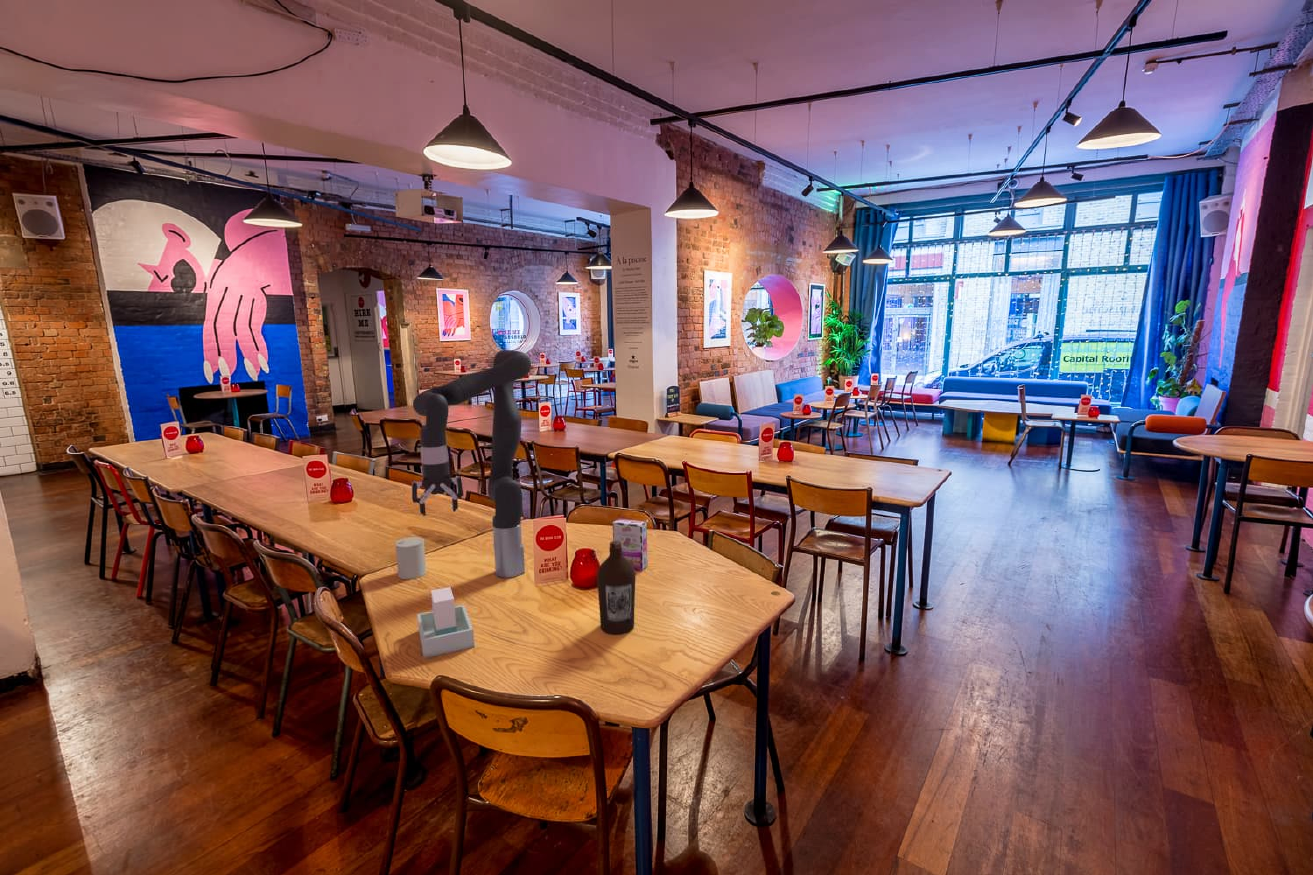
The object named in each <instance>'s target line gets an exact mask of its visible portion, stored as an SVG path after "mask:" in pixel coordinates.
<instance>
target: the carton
mask: <svg viewBox="0 0 1313 875" xmlns="http://www.w3.org/2000/svg"><path fill="white" fill-rule="evenodd" d="M430 594H431V607H432V611H433V623H434V631H435V636H439V635H444V634H448V633H453V632H457V627H456V617H455V606H456V605H455V597H454V595H453V592H452V588H451V586H448V587H443V588H437V589H432V590H430Z"/></svg>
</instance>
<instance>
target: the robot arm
mask: <svg viewBox="0 0 1313 875" xmlns="http://www.w3.org/2000/svg"><path fill="white" fill-rule="evenodd" d="M531 368H532V361H531V358H530V357H529V355H528V354H527V353H525V352H522V351H519V350H511V349H501V350H499V351H498V352H497V353H496V354H495V356H494V357H493V363H492V367H490V368H487V369H483V370H479V371H475V372H471V373H468V374H465V375H462V376H460V377H457V378H455V379H454V380H452V381H451V380H450V382H447V383H446V384H444V385H440V386H436V387H432V388H429V389H427V390H424V391H422V392H420V393H418V394H417V395H416V396H415V398H414V399H413V401H412V407H413V410H414V412H415V413H416V414H418V415H420V416H422V417H425V425H423V426H422V427H421V428H420V430H419V434H420V435H419V436H420V448H421V449H420V457H421V458H420V461H421V472H422V480H421V481H415V480H413V481H412V482H411V500H412V503H414V504H416V503H417V504H418V505H419V511H420V514H421V515H422V516H423V517H425V516H427V514H426V513H427V512H426V504H425V501H426V500H427V499H428V497H429V496H430V495H432V496H434V495H439V494H440V495H441V494H445V493H447V494H448V495H449V496H450V497H451V504H452V505H451V506H452V512H457V510H458V509H459V504H458V503H459V502H458V499H460V498H461V497H462V498H463V497H464V489H463V483H462V482H463V480H462V478H461V476H460V475H457V476H456V477H451V474H450V461H449V459H450V456H449V451H448V446H447V434H446V430H447V424H448V418H449V407H451V406H458V405H460V404H462V403H465V402H467V401H469V400H471V399H472V398H475V397H476V396H479V395H480V394H483V393H484V392H487V391H489V390H492V389H493V416H492V427H491V428H492V431H491V433H492V435H491V436H492V437H491V438H492V439H491V440H492V441H491V465H490V471H489V477H488V482H487V483H488V485H487V493H488V497H489V498H490V499H491V501H493V502H494V509H495V512H494V513H495V515H494V516H493V517H492V520H491V522H492V534H493V535H492V536H493V550H494V564H495V565H494V566H495V567H494V569H495V575H496V576H497V577H499V576H500V577H499V578H514V577H517V576H520V575H522V574H526V567H525V547H524V545H523V541H522V539H523V538H522V522H521V521H522V520H521V519H522V516H523V493H522V492H523V491H522V488H521V486H520V484H519V483H518V482H517V481H515V480H514V479H513V478H514V477H513V463H514V458H515V455H516V452H517V451H518V448H519V446H520V442H521V438H522V437H521V436H522V416H521V412H520V409H519V406H518V404H517V400H516V398H515V393H514V384H515V383H514V382H515V381H518V380H522V379H523V378H526V377H527V376H528V375H529V373H530V372H531ZM452 483H454V485H456V487H457V492H456V493H455V492H454V491H453V490H452V489H451V487H450V486H451V484H452ZM421 486H422V487H423V488H424V490H423V493H422V494H421V496H420V497H418V490H420V488H421Z"/></svg>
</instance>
